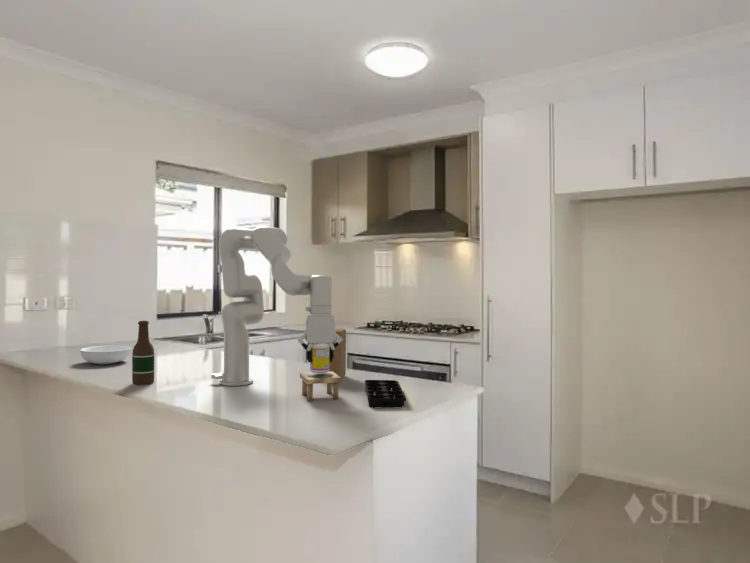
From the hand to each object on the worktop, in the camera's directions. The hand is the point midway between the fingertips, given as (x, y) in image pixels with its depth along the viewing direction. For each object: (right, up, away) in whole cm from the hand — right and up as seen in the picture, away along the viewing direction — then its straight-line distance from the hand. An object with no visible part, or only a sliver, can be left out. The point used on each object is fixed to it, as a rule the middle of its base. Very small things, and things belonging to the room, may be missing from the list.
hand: (319, 361), depth 186 cm
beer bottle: (-70, -11, +18) cm, 73 cm away
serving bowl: (-106, -10, +61) cm, 122 cm away
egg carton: (+22, -13, 0) cm, 26 cm away
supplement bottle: (0, -4, 0) cm, 4 cm away
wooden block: (+1, -12, +33) cm, 36 cm away
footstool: (0, -12, 0) cm, 12 cm away
